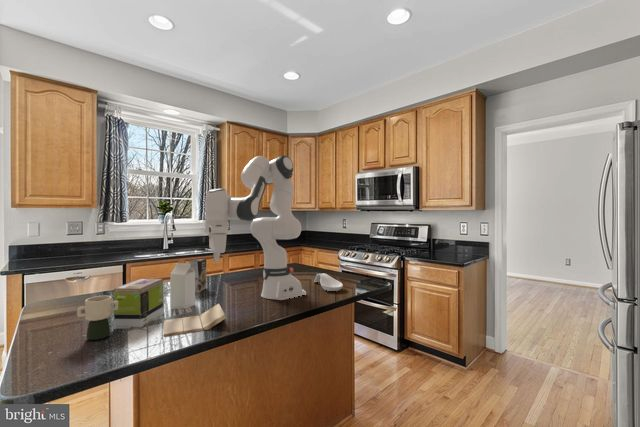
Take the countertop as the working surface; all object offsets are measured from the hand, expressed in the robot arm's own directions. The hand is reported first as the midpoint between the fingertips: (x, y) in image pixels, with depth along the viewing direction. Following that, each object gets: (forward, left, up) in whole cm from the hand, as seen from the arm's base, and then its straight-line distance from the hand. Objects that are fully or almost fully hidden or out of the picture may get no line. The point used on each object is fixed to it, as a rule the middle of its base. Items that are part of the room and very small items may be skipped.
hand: (216, 261), depth 123 cm
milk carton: (+12, -14, -21) cm, 28 cm away
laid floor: (+13, +12, -21) cm, 28 cm away
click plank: (+3, +12, -19) cm, 23 cm away
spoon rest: (-60, -16, -22) cm, 66 cm away
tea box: (+27, -2, -21) cm, 35 cm away
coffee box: (+4, -41, -21) cm, 46 cm away
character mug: (+38, +9, -21) cm, 44 cm away
